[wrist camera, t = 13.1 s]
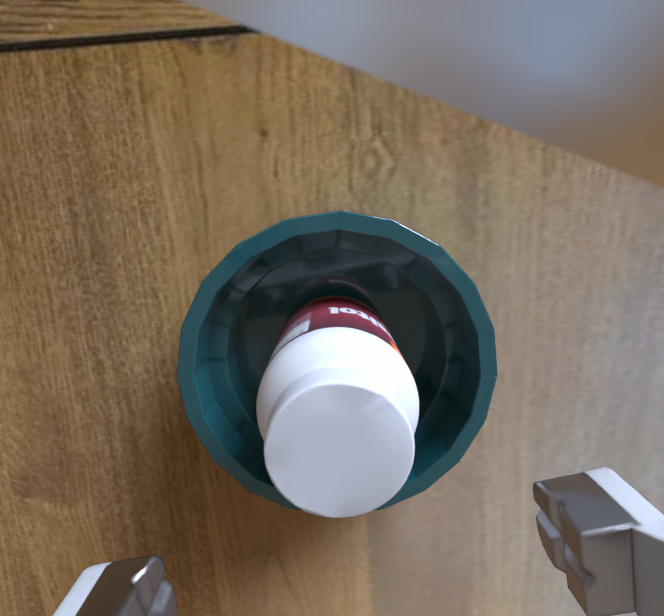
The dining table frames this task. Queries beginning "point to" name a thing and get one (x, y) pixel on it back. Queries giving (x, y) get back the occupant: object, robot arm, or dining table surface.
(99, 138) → the dining table surface
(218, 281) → the bowl
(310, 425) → the pill bottle
